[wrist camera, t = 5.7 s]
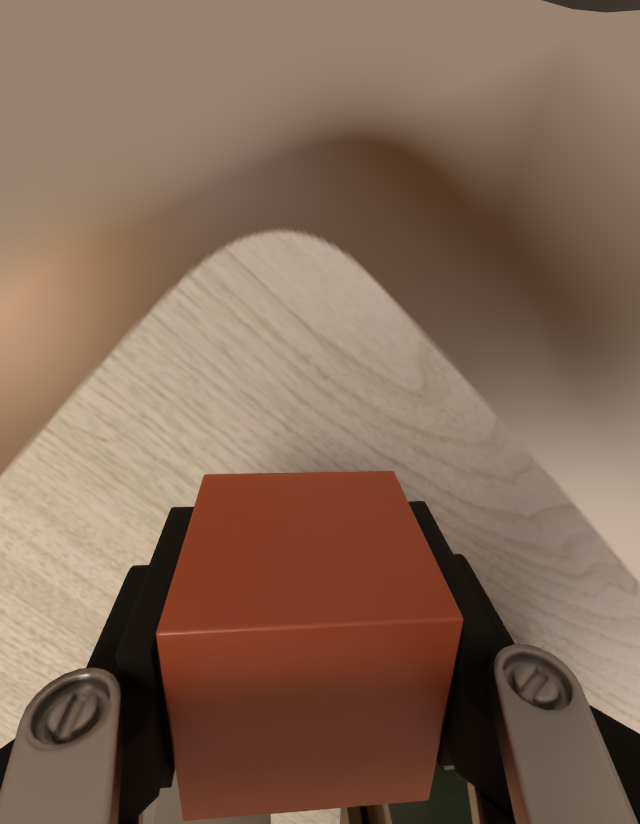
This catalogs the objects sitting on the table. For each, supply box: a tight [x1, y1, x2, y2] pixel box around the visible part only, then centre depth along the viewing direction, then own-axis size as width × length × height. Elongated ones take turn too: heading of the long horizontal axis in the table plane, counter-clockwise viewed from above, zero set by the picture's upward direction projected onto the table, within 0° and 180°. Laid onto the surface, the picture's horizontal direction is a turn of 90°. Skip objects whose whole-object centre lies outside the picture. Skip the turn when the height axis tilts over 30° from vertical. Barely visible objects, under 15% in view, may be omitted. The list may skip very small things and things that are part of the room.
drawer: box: [364, 759, 473, 824], centre depth 23 cm, size 18×11×8 cm, turn 179°
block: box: [156, 471, 463, 821], centre depth 9 cm, size 4×4×4 cm
